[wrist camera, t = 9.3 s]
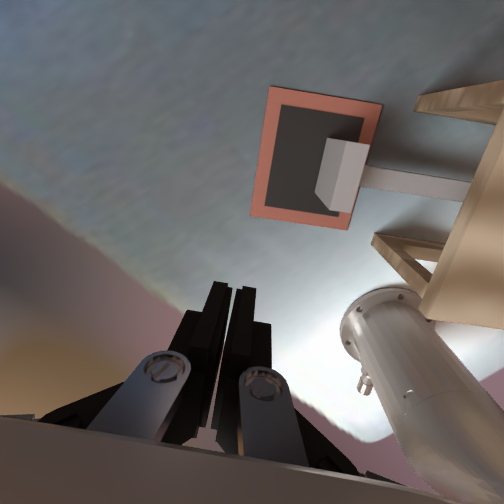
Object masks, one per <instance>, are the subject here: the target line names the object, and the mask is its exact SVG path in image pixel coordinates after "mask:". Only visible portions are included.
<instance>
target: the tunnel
mask: <svg viewBox="0 0 504 504" xmlns="http://www.w3.org/2000/svg"><path fill="white" fill-rule="evenodd" d="M414 112H420V113H426V114H432V115H438V116H444V117H450V118H456V119H462V120H468V121H474V122H480V123H486V124H492V125H496V126H495V129H494V131H493V133H492V136H491V138H490V140H489V143H488V145H487V147H486V150H485V152H484V155H483V157H482V159H481V162H480V164H479V166H478V169H477V171H476V173H475V176H474V178H473V181H472V183H471V185H470V188H469V190H468V192H467V195H466V197H465V199H464V202H463V204H462V207H461V209H460V211H459V214H458V216H457V218H456V221H455V223H454V225H453V228H452V230H451V232H450V235H449V237H448V240H447V242H446V244H443V243H437V242H430V241H423V240H417V239H410V238H403V237H396V236H390V235H383V234H376V233H374V236H373V239H372V242H371V245H372V246H373V247H374V248H375V249H376V250H377V252H378V253H379V254H380V255H381V256H382V257H383V258H384V259H385V260H386V261H387V262H388V263H389V264H390V265H391V266H392V267H393V268H394V269H395V271H396V272H397V273H398V274H399V275H400V276H401V277H402V278H403V279H404V280H405V281H406V282H407V283H408V284H409V285H410V286H411V287H412V289H413V290H414V291H415V292H416V293H417V294H418V295H419V296H420V297H421V298H422V301H421V303H420V306H419V308H418V309H419V310H420V311H421V313H422V314H423V315H424V316H425V317H426V318H427V319H432V320H439V321H446V322H453V323H460V324H468V325H475V326H482V327H489V328H496V329H503V330H504V80H499V81H494V82H489V83H483V84H478V85H473V86H468V87H462V88H457V89H452V90H446V91H441V92H436V93H431V94H425V95H420V96H418V99H417V102H416V105H415V108H414ZM415 259H419V260H426V261H433V262H438V263H437V266H436V268H435V270H434V273H433V275H432V274H431V273H430V272H429V271H428V270H427V269H425V268H424V267H423V266H422V265H421V264H420V263H418V262H417V261H416V260H415Z"/></svg>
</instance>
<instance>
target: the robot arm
mask: <svg viewBox="0 0 504 504" xmlns="http://www.w3.org/2000/svg"><path fill="white" fill-rule="evenodd" d="M231 295H232V288H231V287H228V283H223V282H217V281H214V283H213V285H212V288H211V290H210V293H209V296H208V298H207V301H206V303H205V306H204V308H203V311H202V312H198V311H192V310H187V311H186V313H185V315H184V317H183V319H182V321H181V323H180V325H179V327H178V329H177V331H176V334H175V336H174V338H173V340H172V342H171V344H170V346H169V348H168V350H167V351H159V352H155V353H152V354H150V355H148V356H147V357H145V358H144V359H143V360H142V361H141V362H140V364H139V365H138V366H137V367H136V368H135V370H134V371H133V372H132V373H131V375H130V376H129V377H128V378H127V379H126V381H125V382H122V383H120V384H117V385H115V386H112V387H110V388H107V389H105V390H102V391H100V392H97V393H95V394H93V395H90V396H88V397H86V398H83V399H80V400H78V401H76V402H73V403H70V404H68V405H65V406H63V407H61V408H58V409H56V410H54V411H52V412H50V413H48V414H46V415H45V416H44V417H42V418H41V419H35V414H25V415H0V504H504V411H503V410H502V408H501V407H500V406H499V405H498V404H497V403H496V401H495V400H494V399H493V398H492V397H491V396H490V394H489V393H488V392H487V391H486V390H485V389H484V388H483V386H482V385H481V384H480V383H479V382H478V380H477V379H476V378H475V377H474V376H473V375H472V373H471V372H470V371H469V370H468V369H467V368H466V366H465V365H464V364H463V363H462V362H461V361H460V359H459V358H458V357H457V356H456V355H455V354H454V353H453V351H452V350H451V349H450V348H449V347H448V346H447V344H446V343H445V342H444V341H443V340H442V339H441V337H440V336H439V335H438V334H437V333H436V332H435V330H434V328H435V320H432V319H427V318H426V317H425V316H424V315H423V314H422V313H421V311H420V310H419V309H418V308H419V306H420V303H421V301H422V298H421V297H420V296H419V295H417V294H416V293H414V292H411V291H409V290H406V289H401V288H385V289H379V290H376V291H373V292H370V293H368V294H366V295H364V296H362V297H360V298H359V299H358V300H356V301H355V302H354V303H353V304H352V305H351V306H350V307H349V308H348V309H347V311H346V312H345V314H344V316H343V318H342V320H341V325H340V337H341V341H342V343H343V346H344V348H345V350H346V351H347V352H348V354H349V355H350V356H351V357H353V358H354V359H355V360H357V361H359V362H361V365H362V368H361V372H362V376H361V377H360V380H359V383H358V385H357V390H358V391H359V392H360V393H361V394H363V395H366V396H367V395H369V394H370V393H371V390H372V388H373V386H374V388H375V391H376V393H377V395H378V398H379V400H380V402H381V404H382V407H383V409H384V411H385V413H386V416H387V418H388V420H389V423H390V425H391V427H392V429H393V432H394V434H395V436H396V438H397V441H398V443H399V445H400V447H401V450H402V452H403V454H404V456H405V458H406V460H407V462H408V463H409V465H410V466H411V468H412V469H413V471H414V472H415V473H416V474H417V475H418V476H419V477H420V479H422V480H423V481H424V482H425V483H426V484H427V485H429V486H430V487H431V488H432V489H434V490H435V491H437V492H438V493H440V494H441V495H443V496H444V497H443V496H440V495H437V494H434V493H430V492H427V491H424V490H420V489H415V488H411V487H407V486H405V485H402V484H400V483H397V482H395V481H392V480H390V479H387V478H385V477H382V476H380V475H377V474H375V473H372V472H370V471H366V473H365V475H364V474H362V473H359V472H358V471H357V469H356V467H355V466H354V465H353V464H352V463H351V461H350V460H349V459H348V458H347V457H346V456H345V455H344V454H343V453H342V452H340V451H339V450H338V449H337V448H336V447H335V446H334V445H333V444H332V443H331V442H330V441H329V440H328V439H327V438H326V437H324V435H323V434H321V433H320V432H319V431H318V430H317V429H316V428H315V427H314V426H313V425H312V424H311V423H310V422H309V421H308V420H307V419H306V418H304V417H303V416H302V415H301V414H300V413H299V412H298V411H297V410H296V409H295V408H294V406H293V402H292V398H291V394H290V390H289V386H288V384H287V382H286V380H285V379H284V378H283V376H282V375H281V374H279V373H278V372H276V371H275V370H273V369H272V348H271V324H268V323H262V322H256V321H254V309H255V298H256V288H252V287H246V286H243V288H242V289H237V290H236V295H235V299H234V304H233V309H232V313H231V318H230V323H229V327H228V332H227V336H226V341H225V346H224V351H223V357H222V362H221V368H220V374H219V381H218V387H217V393H216V399H215V406H214V412H213V418H212V424H211V429H216V430H217V435H216V442H218V444H219V445H220V446H221V447H222V449H223V450H224V452H225V453H223V452H217V451H211V450H205V449H200V448H194V447H188V446H182V444H183V443H185V442H186V441H188V440H189V439H191V438H196V437H197V433H198V429H199V427H206V423H207V419H208V413H209V409H210V405H211V400H212V396H213V391H214V387H215V382H216V378H217V373H218V369H219V364H220V360H221V355H222V350H223V345H224V339H225V333H226V326H227V320H228V314H229V308H230V301H231Z"/></svg>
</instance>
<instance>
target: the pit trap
mask: <svg viewBox="0 0 504 504" xmlns="http://www.w3.org/2000/svg"><path fill="white" fill-rule="evenodd" d="M381 108H382V105H379V104H373V103H367V102H361V101H355V100H349V99H343V98H337V97H331V96H325V95H319V94H313V93H307V92H301V91H295V90H289V89H283V88H277V87H271V86H270V87H269V93H268V100H267V107H266V113H265V120H264V127H263V133H262V140H261V146H260V153H259V160H258V166H257V173H256V180H255V186H254V193H253V200H252V206H251V213H250V216H254V217H261V218H268V219H274V220H281V221H288V222H295V223H301V224H308V225H315V226H321V227H328V228H335V229H341V230H347V228H348V225H349V221H350V218H351V214H352V211H353V207H354V203H355V200H356V196H357V193H358V189H359V186H358V189H357V193H356V196H355V200H354V203H353V207H352V210H351V213H345V212H339V211H332V210H329V209H328V208H327V207H326V205H325V204H324V203H323V202H322V201H321V200H320V198H319V197H318V196H317V195H316V194H315V188H316V184H317V180H318V175H319V171H320V166H321V162H322V158H323V153H324V149H325V145H326V140H327V138H331V139H337V140H344V141H350V142H355V143H361V144H367V145H370V147H371V143H372V140H373V136H374V133H375V129H376V126H377V122H378V119H379V115H380V112H381ZM370 147H369V150H368V154H369V151H370ZM368 154H367V157H366V161H367V158H368ZM366 161H365V164H364V165H366Z"/></svg>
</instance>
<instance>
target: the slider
mask: <svg viewBox="0 0 504 504" xmlns="http://www.w3.org/2000/svg"><path fill="white" fill-rule="evenodd" d="M369 147H370V145H367V144H361V143H355V142H350V141H344V140H337V139H331V138H327V140H326V145H325V149H324V153H323V158H322V162H321V166H320V171H319V175H318V180H317V184H316V188H315V194H316V195H317V196H318V197H319V198H320V200H321V201H322V202H323V203H324V204H325V205H326V207H327V208H328V209H329V210H332V211H339V212H345V213H351V210H352V207H353V203H354V200H355V196H356V193H357V189H358V186H362V187H368V188H374V189H381V190H387V191H394V192H400V193H407V194H413V195H420V196H426V197H432V198H439V199H445V200H452V201H458V202H464V199H465V197H466V195H467V192H468V190H469V188H470V185H471V183H472V182H469V181H463V180H456V179H450V178H444V177H437V176H431V175H425V174H418V173H412V172H406V171H399V170H393V169H387V168H380V167H374V166H368V165H364V164H365V161H366V157H367V154H368V150H369Z"/></svg>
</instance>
